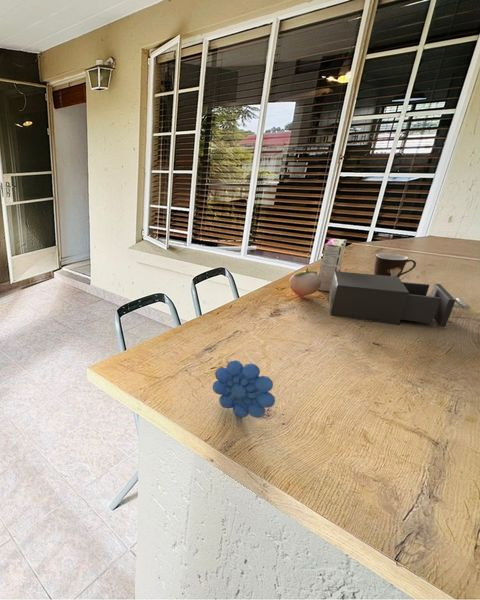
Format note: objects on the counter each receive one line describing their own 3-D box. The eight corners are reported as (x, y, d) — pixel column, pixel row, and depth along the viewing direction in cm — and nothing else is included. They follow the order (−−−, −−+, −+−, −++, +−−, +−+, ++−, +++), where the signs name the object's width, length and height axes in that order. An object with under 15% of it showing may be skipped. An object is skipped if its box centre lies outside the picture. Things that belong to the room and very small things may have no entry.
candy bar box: (321, 281, 130) (330, 238, 124) (337, 283, 127) (347, 239, 121) (314, 290, 123) (324, 244, 117) (331, 292, 120) (342, 245, 114)
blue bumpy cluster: (281, 422, 64) (292, 366, 60) (261, 439, 60) (271, 381, 56) (224, 392, 73) (230, 341, 68) (204, 405, 69) (209, 353, 65)
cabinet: (389, 306, 107) (398, 276, 104) (399, 325, 96) (409, 292, 92) (328, 298, 115) (334, 271, 112) (330, 315, 104) (337, 285, 100)
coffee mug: (369, 285, 124) (376, 258, 120) (368, 278, 131) (375, 252, 127) (413, 290, 118) (422, 262, 114) (409, 283, 124) (418, 255, 121)
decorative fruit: (305, 303, 112) (311, 274, 109) (282, 296, 119) (287, 268, 116) (324, 298, 116) (330, 269, 112) (300, 290, 123) (306, 263, 119)
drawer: (452, 311, 100) (461, 286, 97) (468, 330, 89) (479, 302, 86) (368, 301, 109) (375, 278, 106) (375, 317, 99) (382, 292, 96)
